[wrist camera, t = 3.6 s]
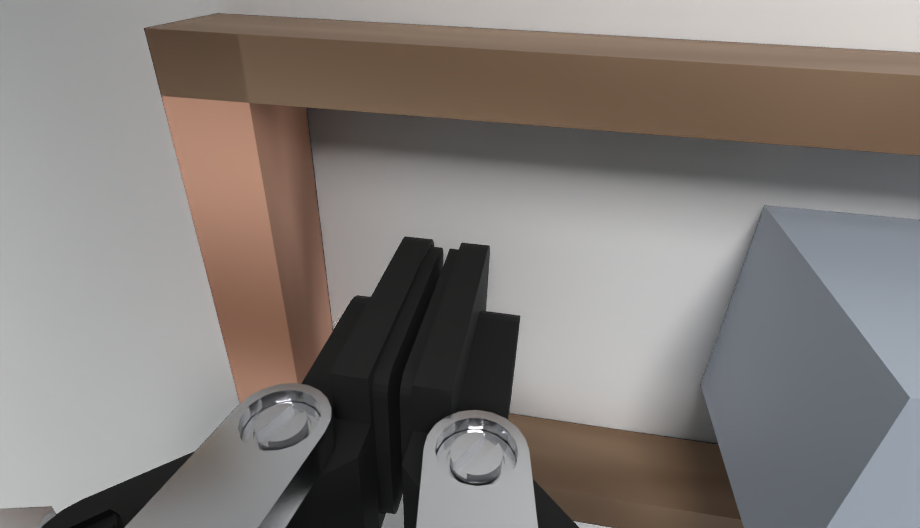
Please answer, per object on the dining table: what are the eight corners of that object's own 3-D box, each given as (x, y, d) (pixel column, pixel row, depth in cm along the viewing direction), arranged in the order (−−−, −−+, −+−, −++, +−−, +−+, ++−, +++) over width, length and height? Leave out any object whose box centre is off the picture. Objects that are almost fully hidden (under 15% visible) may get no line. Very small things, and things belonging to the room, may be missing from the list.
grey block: (763, 204, 10) (910, 398, 6) (1035, 229, 9) (1422, 465, 5) (699, 383, 12) (770, 614, 8) (914, 412, 12) (1111, 677, 7)
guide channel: (217, 13, 10) (144, 28, 8) (2005, 113, 7) (2495, 171, 5) (291, 407, 15) (255, 466, 13) (1315, 565, 12) (1439, 668, 10)
